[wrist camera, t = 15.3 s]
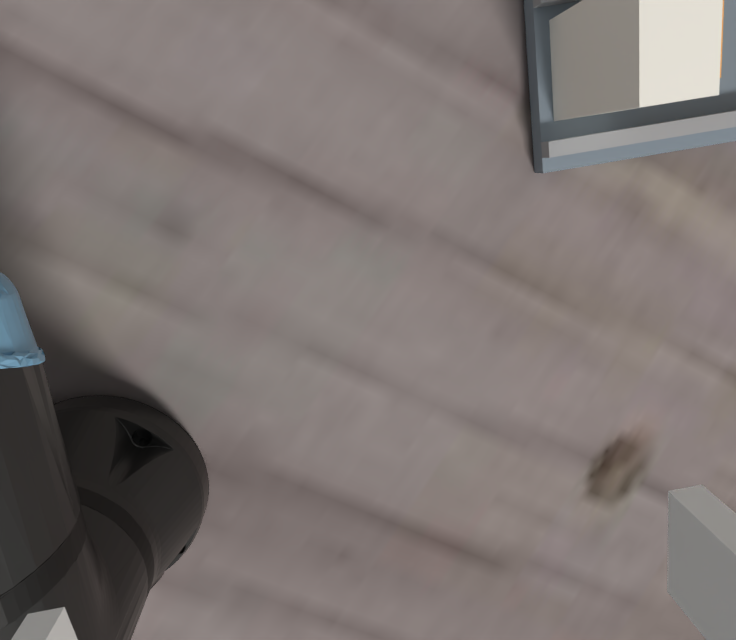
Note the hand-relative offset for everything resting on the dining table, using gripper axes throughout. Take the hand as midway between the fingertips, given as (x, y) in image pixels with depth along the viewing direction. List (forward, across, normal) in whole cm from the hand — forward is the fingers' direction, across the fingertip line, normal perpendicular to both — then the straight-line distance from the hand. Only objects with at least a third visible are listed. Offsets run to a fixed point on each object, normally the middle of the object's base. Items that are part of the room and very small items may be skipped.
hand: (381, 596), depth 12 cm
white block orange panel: (+27, +18, +12) cm, 35 cm away
